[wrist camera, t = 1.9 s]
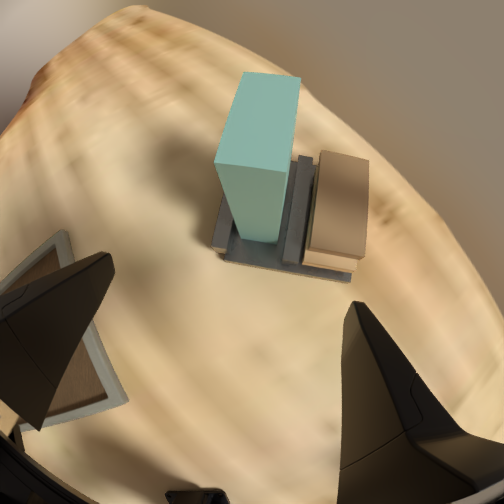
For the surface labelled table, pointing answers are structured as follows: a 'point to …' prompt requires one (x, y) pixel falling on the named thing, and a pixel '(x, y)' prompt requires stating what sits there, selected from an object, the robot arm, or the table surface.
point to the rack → (290, 235)
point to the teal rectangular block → (258, 153)
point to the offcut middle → (321, 258)
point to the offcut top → (340, 206)
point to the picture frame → (86, 355)
